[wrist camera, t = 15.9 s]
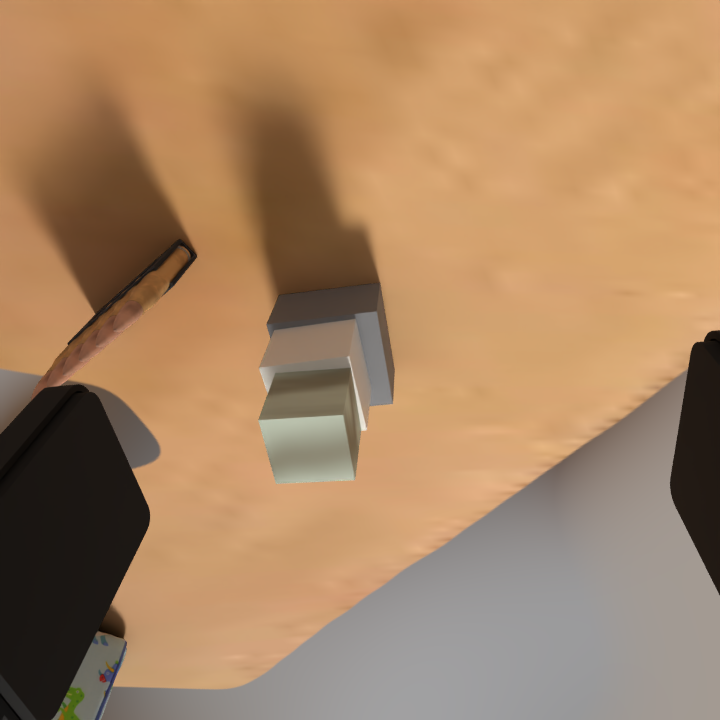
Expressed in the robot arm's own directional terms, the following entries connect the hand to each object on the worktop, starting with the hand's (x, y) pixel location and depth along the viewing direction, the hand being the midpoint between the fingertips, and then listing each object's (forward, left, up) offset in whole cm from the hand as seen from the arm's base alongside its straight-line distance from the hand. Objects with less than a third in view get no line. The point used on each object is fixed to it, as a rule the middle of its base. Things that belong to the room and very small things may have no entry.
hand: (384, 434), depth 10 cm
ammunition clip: (+11, -22, -35) cm, 42 cm away
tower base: (+17, -7, -35) cm, 39 cm away
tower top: (+16, -8, -30) cm, 35 cm away
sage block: (+16, -7, -25) cm, 31 cm away
